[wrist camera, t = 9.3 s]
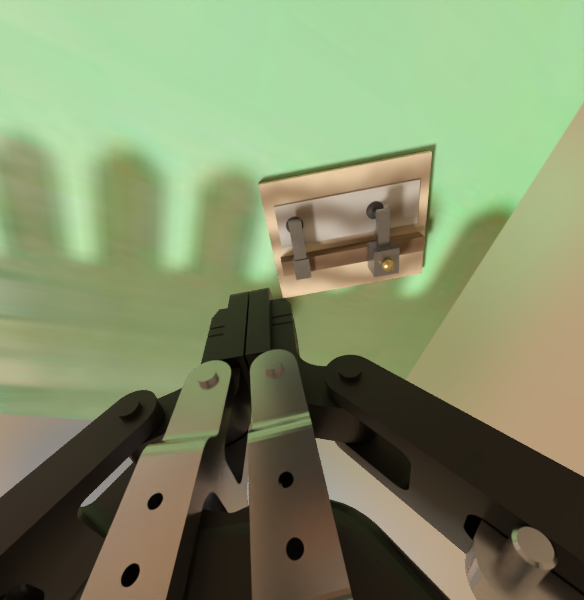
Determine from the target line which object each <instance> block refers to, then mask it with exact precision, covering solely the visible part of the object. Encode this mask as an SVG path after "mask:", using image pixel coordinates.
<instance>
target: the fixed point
mask: <svg viewBox="0 0 584 600" xmlns="http://www.w3.org/2000/svg"><path fill="white" fill-rule="evenodd" d="M288 225H289V230H290V236H291V242H292V247H293V253H294V258H292V259H293V264H294V270H295V275H296V280H300V279H306V278H311V277H312V276H311V269H310V263H309V257H308V256H306V250H305V243H304V237H303V230H302V224H301V219H297V220H291V221H288Z"/></svg>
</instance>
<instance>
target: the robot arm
mask: <svg viewBox="0 0 584 600" xmlns="http://www.w3.org/2000/svg"><path fill="white" fill-rule="evenodd" d="M251 414H252V421H251ZM315 438H320V439H326V440H332V441H335V442H336V444H337V445H338V446H339V447H340V448H341V449H342V450H343V451H344V452H345V453H346V454H348V455H349V456H350V457H351V458H352V459H354V460H355V461H356V462H357V463H358V464H359V465H361V466H362V467H363V468H364V469H365V470H367V471H368V472H369V473H370V474H371V475H373V476H374V477H375V478H376V479H377V480H379V481H380V482H381V483H382V484H383V485H384V486H386V487H387V488H388V489H389V490H390V491H392V492H393V493H394V494H395V495H396V496H398V497H399V498H400V499H401V500H402V501H404V502H405V503H406V504H407V505H408V506H409V507H411V508H412V509H413V510H414V511H415V512H417V513H418V514H419V515H420V516H421V517H423V518H424V519H425V520H426V521H427V522H429V523H430V524H431V525H432V526H433V527H434V528H436V529H437V530H438V531H439V532H441V533H442V534H443V535H444V536H445V537H446V538H447V539H449V540H450V541H451V542H452V543H453V544H455V545H456V546H457V547H458V548H459V549H461V550H462V551H463V552H464V553H465V554H466V559H465V569H466V576H467V579H468V582H469V585H470V587H471V590H472V592H473V594H474V595H475V597H476V599H477V600H584V477H583V476H581V475H579V474H577V473H576V472H573V471H572V470H570V469H568V468H566V467H565V466H563V465H561V464H559V463H557V462H555V461H554V460H552V459H550V458H548V457H546V456H544V455H542V454H540V453H539V452H537V451H535V450H533V449H531V448H529V447H528V446H526V445H524V444H522V443H520V442H518V441H517V440H515V439H513V438H511V437H509V436H507V435H506V434H504V433H502V432H500V431H498V430H496V429H495V428H493V427H491V426H489V425H487V424H485V423H484V422H482V421H480V420H478V419H476V418H474V417H472V416H471V415H469V414H467V413H465V412H463V411H461V410H460V409H458V408H456V407H454V406H452V405H450V404H448V403H446V402H445V401H443V400H441V399H439V398H437V397H435V396H434V395H432V394H430V393H428V392H426V391H425V390H423V389H421V388H419V387H417V386H415V385H414V384H412V383H410V382H408V381H406V380H404V379H402V378H401V377H399V376H397V375H395V374H393V373H391V372H390V371H388V370H386V369H384V368H382V367H380V366H379V365H377V364H375V363H373V362H371V361H369V360H367V359H366V358H363V357H361V356H357V355H344V356H340V357H337V358H335V359H334V360H332V361H331V362H330V363H329V364H328V365H327V367H326V366H316V365H312V364H309V363H307V362H305V361H303V360H302V359H301V358H300V354H299V347H298V340H297V334H296V329H295V324H294V319H293V314H292V309H291V304H290V303H289V302H288V301H287V300H286V299H285V298H281V299H275V300H272V296H271V292H270V289H269V288H265V289H259V290H254V291H250V292H243V293H238V294H232V295H230V299H229V304H228V308H226V309H221V310H219V311H218V312H217V313H216V314H215V316H214V317H213V318H212V321H211V325H210V330H209V333H208V338H207V341H206V345H205V350H204V354H203V358H202V362H201V365H199V366H197V367H196V368H194V369H193V370H192V371H191V372H190V373H189V374H188V376H187V378H186V380H185V382H184V385H183V387H182V388H181V389H179V390H177V391H175V392H172V393H170V394H168V395H165V396H163V397H161V398H159V399H157V398H156V396H155V394H154V393H153V392H151V391H148V390H140V391H135V392H132V393H130V394H128V395H126V396H124V397H123V398H121V399H120V400H119V401H117V402H116V403H115V404H114V405H112V406H111V407H110V408H109V409H108V410H106V411H105V412H104V413H103V414H101V415H100V416H99V417H98V418H97V419H95V420H94V421H93V422H92V423H91V424H90V425H88V426H87V427H86V428H85V429H83V430H82V431H81V432H80V433H78V434H77V435H76V436H75V437H74V438H72V439H71V440H70V441H69V442H67V443H66V444H65V445H64V446H63V447H61V448H60V449H59V450H58V451H57V452H55V453H54V454H53V455H52V456H50V457H49V458H48V459H47V460H46V461H44V462H43V463H42V464H41V465H40V466H38V467H37V468H36V469H35V470H33V471H32V472H31V473H30V474H29V475H27V476H26V477H25V478H24V479H23V480H21V481H20V482H19V483H18V484H16V485H15V486H14V487H13V488H12V489H10V490H9V491H8V492H7V493H6V494H4V495H3V496H2V497H1V498H0V600H450V599H449V598H448V597H447V596H446V595H445V594H444V593H443V592H442V591H441V590H440V589H439V588H438V587H437V585H436V584H435V583H433V582H432V580H431V579H430V578H429V577H428V576H427V575H426V574H425V573H424V572H423V571H422V570H421V569H420V568H419V567H418V566H417V565H416V564H415V563H414V562H413V561H412V560H411V559H410V558H409V557H408V556H407V555H406V554H405V553H404V552H403V551H402V550H401V549H400V548H399V547H398V546H397V545H396V544H395V543H394V542H393V540H391V538H390V537H389V536H388V535H387V534H386V533H385V532H384V531H382V529H381V528H380V527H379V526H378V525H377V524H375V523H374V522H373V521H372V520H371V519H369V518H368V517H367V516H366V515H364V514H363V513H361V512H359V511H358V510H356V509H354V508H352V507H350V506H348V505H346V504H343V503H340V502H337V501H333V500H330V499H329V495H328V491H327V487H326V482H325V478H324V474H323V470H322V466H321V461H320V457H319V453H318V449H317V444H316V440H315ZM128 457H130V459H131V460H132V461H133V463H132V464H131V465H130V466H129V467H128V468H127V469H126V470H125V471H124V472H123V473H122V474H121V475H120V476H119V477H118V478H117V479H116V480H115V481H114V482H113V483H112V484H111V485H110V486H109V487H108V488H107V489H106V490H105V491H104V492H103V493H102V494H101V495H100V496H99V497H98V498H97V499H96V500H95V501H94V502H93V503H91V504H89V505H87V506H85V507H80V505H81V504H82V502H83V501H84V500H85V499H86V498H87V497H88V496H89V494H91V493H92V492H93V491H94V490H95V489H96V488H97V487H98V486H99V485H100V484H101V483H102V482H103V481H104V480H105V479H106V478H107V477H108V476H109V475H110V474H111V473H112V472H113V471H114V470H115V469H117V468H118V466H120V465H121V464H122V463H123V462H124V461H125V460H126V459H127V458H128ZM248 476H249V506H248V500H247V481H248Z"/></svg>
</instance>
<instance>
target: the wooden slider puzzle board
mask: <svg viewBox="0 0 584 600" xmlns="http://www.w3.org/2000/svg"><path fill="white" fill-rule="evenodd" d="M431 159H432V151H423V152H418V153H412V154H407V155H402V156H397V157H391V158H386V159H381V160H376V161H371V162H365V163H360V164H355V165H350V166H344V167H339V168H334V169H329V170H324V171H318V172H313V173H308V174H303V175H297V176H292V177H287V178H282V179H277V180H271V181H266V182H261V183H259V184H258V185H259V190H260V194H261V199H262V204H263V208H264V213H265V217H266V222H267V227H268V231H269V236H270V240H271V245H272V249H273V254H274V259H275V263H276V268H277V272H278V277H279V282H280V286H281V291H282V295H283V298H288V297H293V296H299V295H304V294H310V293H315V292H321V291H326V290H332V289H337V288H343V287H348V286H354V285H359V284H365V283H370V282H376V281H381V280H387V279H393V278H398V277H404V276H409V275H415V274H420V273H422V263H423V252H424V240H425V228H426V217H427V205H428V194H429V182H430V170H431ZM374 208H378V209H383V208H388V209H390V239H392V240H393V241H394V242H395V243H396V245H397V246H398V247H399V248H400V254H399V273H396V274H390V275H385V276H379V277H374V276H373V274H372V273H371V271H370V270H369V268H368V262H367V243H370V242H375V241H376V217H375V216H374V215H373V213H372V210H373V209H374ZM297 219H301V224H302V230H303V237H304V243H305V250H306V256H308V257H309V263H310V269H311V276H312V277H311V278H306V279H300V280H296V275H295V270H294V264H293V259H292V258H294V253H293V247H292V242H291V236H290V230H289V225H288V221H291V220H297Z"/></svg>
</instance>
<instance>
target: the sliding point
mask: <svg viewBox="0 0 584 600" xmlns="http://www.w3.org/2000/svg"><path fill="white" fill-rule="evenodd" d="M372 213H373V215H374V216H375V217H376V241H375V242H370V243H367V262H368V268H369V270H370V271H371V273H372V274H373V276H374V277H379V276H385V275H390V274H396V273H399V254H400V248H399V247H398V246H397V245H396V243H395V242H394V241H393V240H392V239H390V209H388V208H383V209H378V208H374V209H373V210H372Z"/></svg>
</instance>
